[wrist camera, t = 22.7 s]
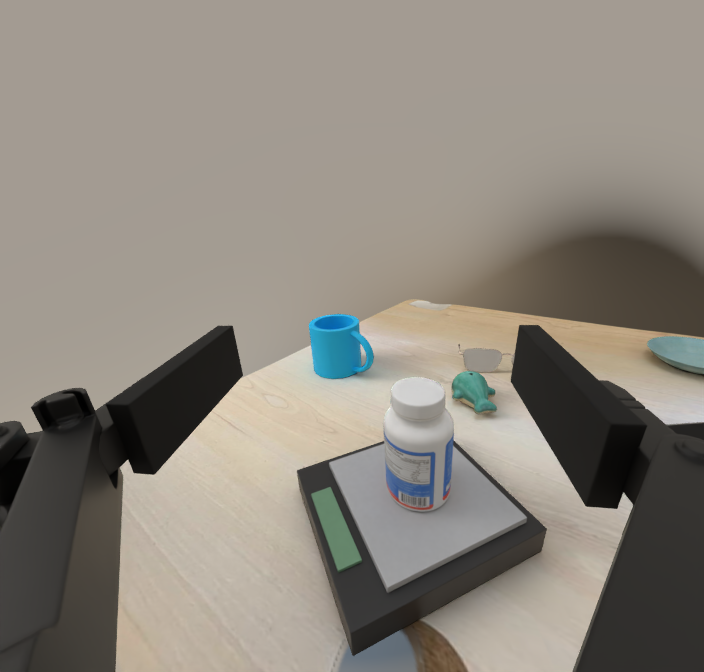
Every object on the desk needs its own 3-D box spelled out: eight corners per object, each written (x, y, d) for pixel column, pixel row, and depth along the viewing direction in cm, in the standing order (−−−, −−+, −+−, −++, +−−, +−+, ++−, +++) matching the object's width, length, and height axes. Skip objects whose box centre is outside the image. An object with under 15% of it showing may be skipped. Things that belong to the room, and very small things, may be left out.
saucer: (760, 394, 42) (768, 379, 41) (641, 368, 49) (645, 355, 48) (747, 360, 50) (753, 347, 49) (645, 343, 57) (649, 331, 56)
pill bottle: (421, 455, 31) (424, 365, 28) (464, 495, 27) (474, 394, 23) (373, 478, 29) (369, 384, 25) (410, 526, 24) (412, 420, 21)
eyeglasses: (458, 370, 52) (459, 347, 51) (457, 353, 59) (458, 332, 58) (556, 378, 48) (560, 353, 47) (542, 358, 56) (545, 336, 54)
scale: (352, 657, 20) (349, 628, 19) (299, 489, 32) (295, 465, 31) (541, 550, 25) (548, 523, 24) (435, 441, 37) (436, 418, 36)
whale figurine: (482, 386, 47) (484, 363, 46) (508, 417, 41) (512, 391, 39) (443, 390, 47) (444, 367, 46) (462, 421, 40) (465, 395, 39)
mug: (304, 369, 56) (298, 324, 53) (337, 352, 61) (334, 311, 58) (356, 392, 48) (353, 341, 45) (389, 370, 53) (388, 324, 50)
